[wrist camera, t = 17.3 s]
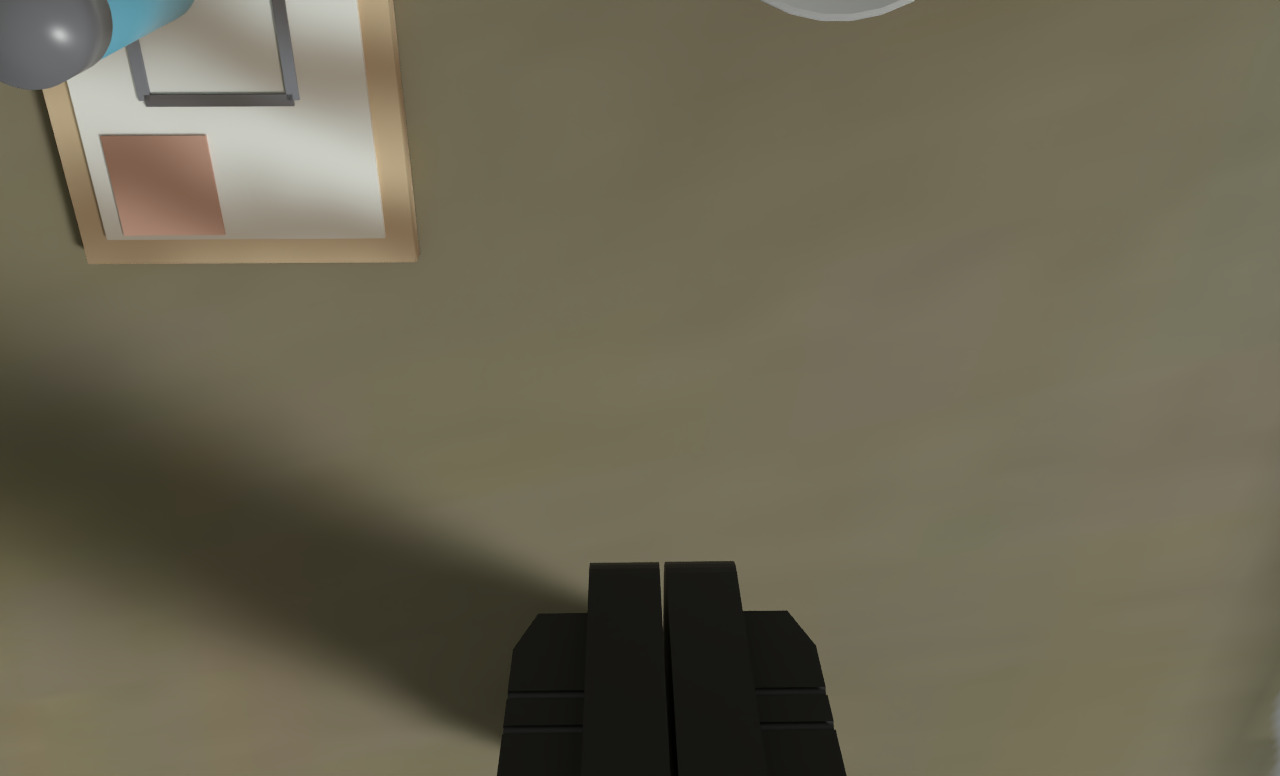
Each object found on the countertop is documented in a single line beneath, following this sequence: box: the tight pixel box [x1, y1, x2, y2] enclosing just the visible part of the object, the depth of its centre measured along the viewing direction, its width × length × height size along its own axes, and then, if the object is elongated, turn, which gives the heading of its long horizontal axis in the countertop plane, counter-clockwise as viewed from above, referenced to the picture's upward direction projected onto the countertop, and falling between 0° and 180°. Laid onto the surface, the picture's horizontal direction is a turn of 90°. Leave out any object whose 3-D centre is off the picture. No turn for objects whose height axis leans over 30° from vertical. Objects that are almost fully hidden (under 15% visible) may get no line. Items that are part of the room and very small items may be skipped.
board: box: [42, 0, 420, 264], centre depth 36 cm, size 16×12×1 cm
